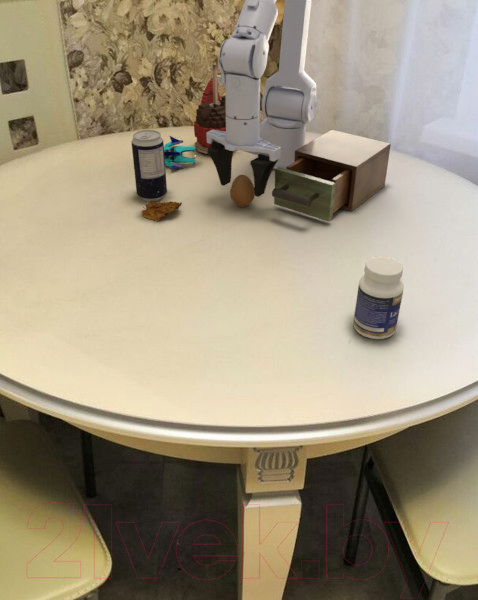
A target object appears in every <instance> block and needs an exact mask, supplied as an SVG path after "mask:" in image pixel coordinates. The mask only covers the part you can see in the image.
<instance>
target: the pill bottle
mask: <svg viewBox="0 0 478 600" xmlns="http://www.w3.org/2000/svg"><path fill="white" fill-rule="evenodd" d="M364 264H365V265H364V268H363V269H364V271H363V272H364V273H363V274H362V275H361V276H360V277H359V281H358V287H357V295H356V300H355V307H354V308H355V309H354V314H353V323H352V324H353V327H354V329H355V331H356V332H357V333H358V334H360V335H361V336H363V337H366V338H368V339H373V340H384V339H387V338H390V337H391V336H393V335H394V334H395V333H396V331H397V326H398V320H399V316H400V309H401V305H402V299H403V295H404V282H403V280H402V278H403V272H404V266H403V264H402V263H401V262H400V261H399V260H398V259H396V258H393V257H389V256H385V255H384V256H383V255H381V256H380V255H379V256H372V257H369V258H368V259H367V260H366V262H365V263H364Z"/></svg>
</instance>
